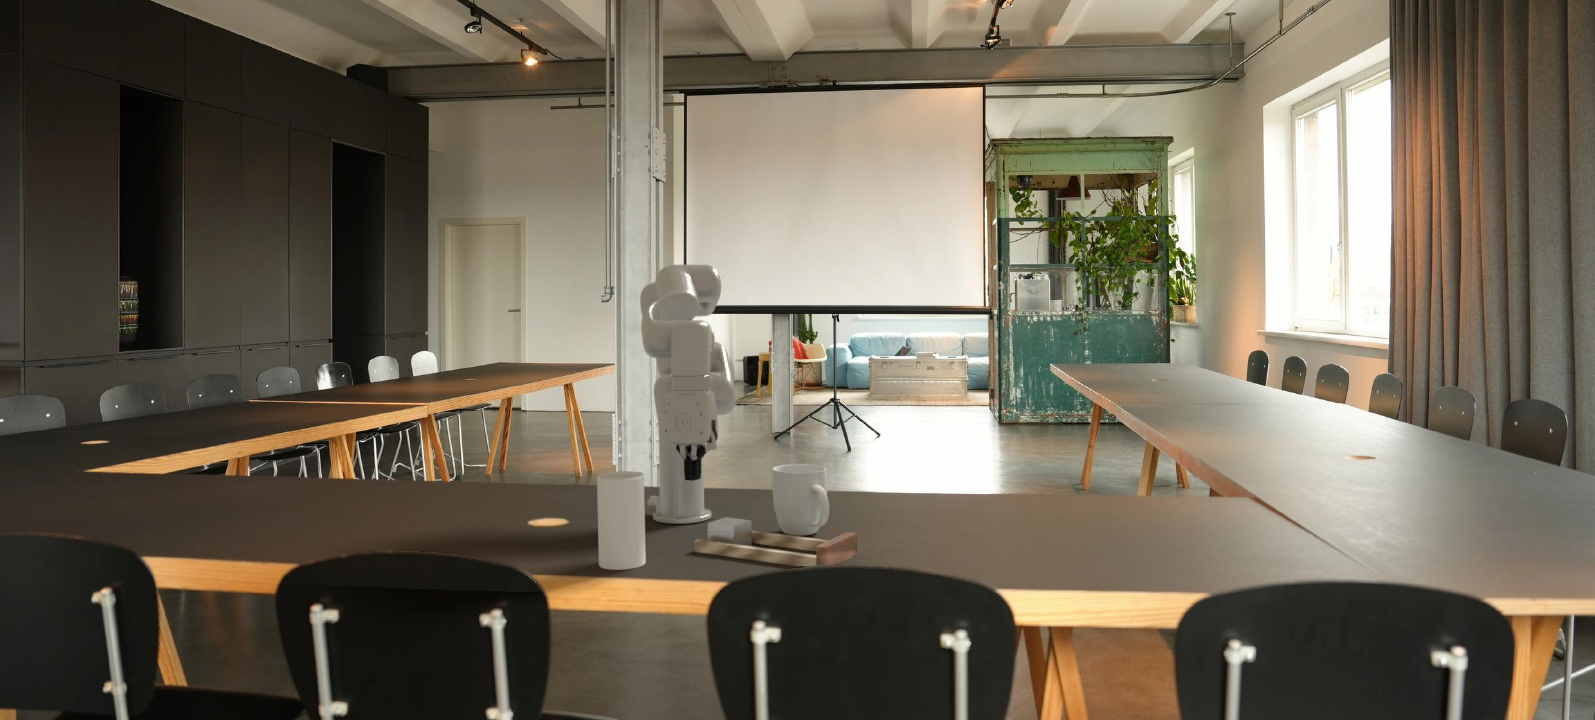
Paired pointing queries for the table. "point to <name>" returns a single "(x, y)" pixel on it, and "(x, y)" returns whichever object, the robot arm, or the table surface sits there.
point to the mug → (800, 498)
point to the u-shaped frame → (825, 549)
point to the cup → (621, 520)
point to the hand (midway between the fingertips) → (692, 479)
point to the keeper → (731, 531)
